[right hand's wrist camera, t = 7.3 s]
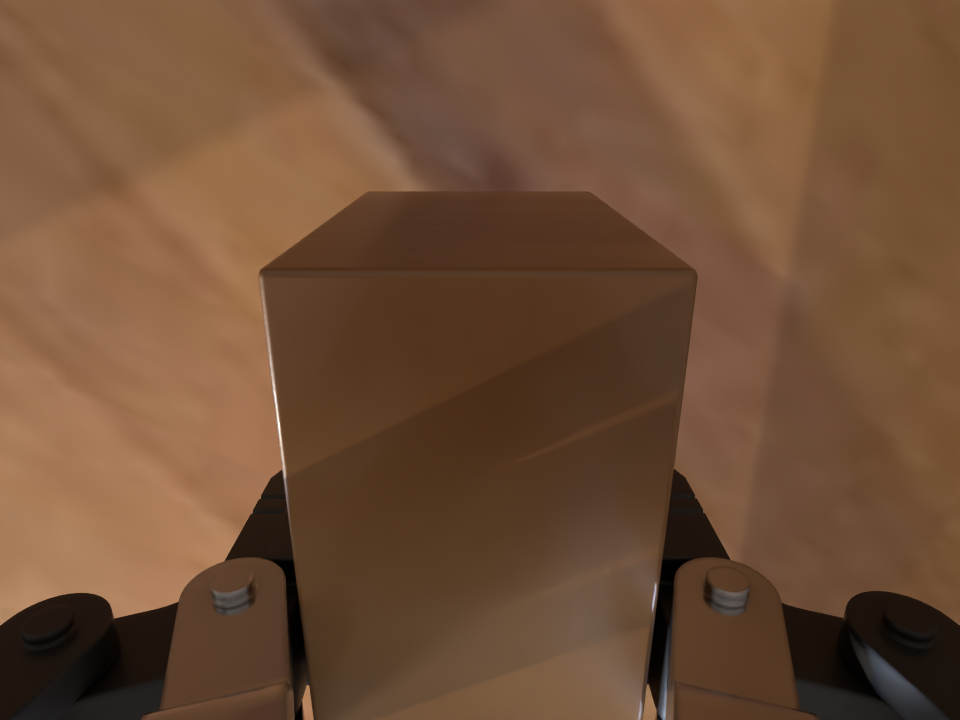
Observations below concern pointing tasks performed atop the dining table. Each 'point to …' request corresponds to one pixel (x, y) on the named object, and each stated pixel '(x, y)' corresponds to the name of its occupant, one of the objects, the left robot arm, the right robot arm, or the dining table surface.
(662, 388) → the beam
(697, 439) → the dining table surface
